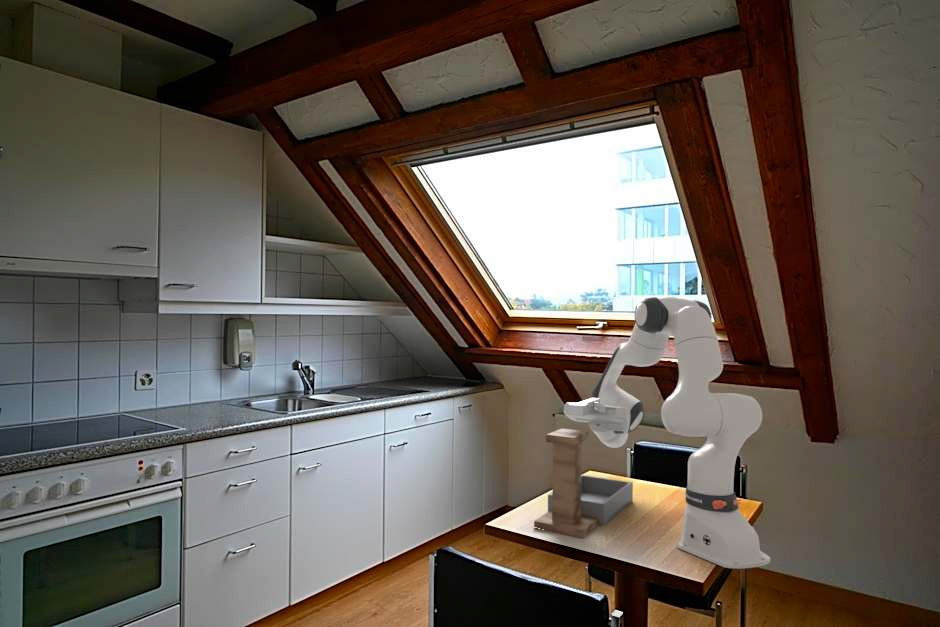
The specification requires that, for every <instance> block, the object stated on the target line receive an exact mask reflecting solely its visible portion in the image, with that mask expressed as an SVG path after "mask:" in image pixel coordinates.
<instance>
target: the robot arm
mask: <svg viewBox="0 0 940 627" xmlns="http://www.w3.org/2000/svg"><path fill="white" fill-rule="evenodd" d="M711 312H712V311H711V309H710V306H708V305H707V303H705V302H702V301H699V300H695V299H692V300H691V299H685V298H679V297H674V296H658V297H657V296H653V295H652V296H647V297H643V298H641V299H640V300H639V301H638V303H637V304H636V306H635V310H634V320H635V324H634V326H633V329H632V331H631V335H630V337H629V339H628V341H627V342H622V343H620V344H619V346H618V347H617V348H616V349H615V351H614V352H613V353H612V356H611V357H610V359H609V361H608V363H607V365H606V367H605V369H604V371H603V373H602V375H601V377H600V378H599V380H598V381H597V383H596V385H595V386H594V388H593V389H592V391H591V393H590V398H600V403H599V402H594V403H593V404H594V405H593V408H594V409H596V410H594V411H591V412H589V413H588V415H585V416H575V415H568V404H571V403H572V402H568V401H567V402H566V403H565V404H564V407H563V414H564V415H565V416H566V417H568V418H569V419H570V420H571V421H574V422H580V423H587V424H588V427H589V428H590V430H591V431H592V432H593V433H594V434H595V435H596V436H597V439H598V440H599V441H600V442H601V443H603V444H604V445H605V446H607V447H609V448H613V449H614V448H616V449H617V448H620V447H623V445H625V444H626V442H627V440H628V437H629V433H632V432H633V431H635V430H637V428H638V427H639V426H640V425H641V423H642V421H644V417H645V406H644V403H643V401H641V400H640V399H639V398H636V397H635V396H633V395H632V394H630V393H628V392H627V391H625V390H624V389H622V388H621V387H619V385H618V384H617V381H618V380H619V379H618V378H620V375H621V374H622V371H623V370H624V368H625V366H633V367H637V368H638V367H641V368H642V367H643V368H644V367H650V366H654V365H655V364H656V365H657V363H659V362H660V360H661V359H662V358H663V356H664V354H665V351H666V347H667V345H668V342H669V337H670V336H672V337H673V341H674V347H675V352H676V358H677V366H678V382H677V384H676V387H675V389H674V390H673V391H672V393H671V394H670V395H669V396H668V397H667V398H666V399H665V400H664V401H663V403H662V405H661V410H660V418H661V421H662V424H663V426H664V428H665V429H666V430H667V431H668V432H669V433H670V434H674V435H678V436H679V435H680V436H684V437H707V439H706V441H705V443H704V444H703V445H702V446H701V447H699V449H697V450H695V451H694V452H692V453H691V454H690V456H689V458H688V459H687V460H688V461H687V486H686V487H685V493H684V494H685V502H686V506H685V510H684V513H683V517H682V525H681V531H680V532H681V534H680V539H679V541H678V542H677V548H678V549H680V550H681V551H685V552H687V553H689V554H692V555H694V556H696V557H698V558H701V559H703V560H706V561H708V562H711V563H713V564H715V565H718V566H720V567H722V568H725V569H726V568H727V569H736V570H737V569H751V568H758V567H763V566H765V565H769V564H770V563H771V561H772V560H771V557H770V556H769V555H768V554H766V553H764V552H763V551H761V549H760V548H761V547H760V539H759V535H758V533H757V532H756V530H755V528H754V527H753V526H751V524H750V523H749V522H748V520H747V519H746V517H744V515H743V514H742V512H741V511H740V510H739V508H740V507H739V505H741V504H742V503H741V502H742V499H738V498H737V496H736V492H735V491H734V478H735V466H736V461H737V457H738V455H739V452H740V450H741V448H742V446H743V445H744V444H745V442H746V440H747V439H748V438H749V437H751V435H753V434H755V432H757V431H758V429H759V428H760V426H761V424H762V421H763V411H762V407H761V405H760V404H759V402H758V400H756V398H754V396H750V395H746V394H741V393H734V392H726V393H725V392H710V389H709V383H711V382H712V381H714V380H716V379H717V378H718V377H719V376H720V375H721V374H722V372H723V368H724V361H723V357H722V352H721V349H720V343H719V340H718V339H719V338H718V335H717V332H716V328H715V325H714V324H713V321H712V313H711Z"/></svg>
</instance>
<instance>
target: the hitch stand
mask: <svg viewBox="0 0 940 627" xmlns="http://www.w3.org/2000/svg"><path fill="white" fill-rule="evenodd" d="M545 436H546V437H545V442H546V443H552V492H553V493H552V492H551V493H552V510H551V511H549V512H548V511H547V512H546V513H544V514H543V515H541V516H539V517H538V518H537V519H535V520H534V522H533V528H534V527H537V528H540V529H544V530H547V531H546V532H549V531H551V533H556V534H559V533H560V534H561V535H564V534H565V536H569V537H573V536H575V537H574V538H578V537H580V539H584V538H585V537H586V536H587V535H588V534H590V533H591V532H592V531H594V529H596V528H597V527H598V526H599V525H598V518H594V517H589V516H584V515H581V475H582V462H583V461H582V459H583V458H582V457H583V456H582V454H583V453H582V450H583V449H582V448H583V447H582V446H583V442H584V441H586V440H589V430H579V429H571V428H560V429H556V430H553V431H552V432H549V433H547V434H545ZM595 527H596V528H595ZM540 529H539V530H540ZM544 530H543V531H544ZM589 532H590V533H589ZM583 537H584V538H583Z"/></svg>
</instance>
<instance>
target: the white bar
mask: <svg viewBox="0 0 940 627" xmlns="http://www.w3.org/2000/svg"><path fill="white" fill-rule="evenodd" d="M594 402H599V403H600V398H591V397H590V398H587V399H585V400H581V401H578V402H570V403H571V404H568V415H575V416H585V415H588V413H589V412H591V411H594V410H596V409H594V408H593V405H594V404H593V403H594Z"/></svg>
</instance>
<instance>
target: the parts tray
mask: <svg viewBox="0 0 940 627" xmlns="http://www.w3.org/2000/svg"><path fill="white" fill-rule="evenodd" d="M633 487H634V482H633V481H627V480H626V481H625V480H620V479H619V480H618V479H612V478H605V477H599V476H593V475H585V474H581V515H584V516H589V517H594V518H598V526H602V525H604V526H605V524H606V523H607V522H608V523H609V522H610V521H611V520H613V519H614V518H615V517H616V516H617V515H619V514H620V513H621V512H622V511H623V510H624V509H625V508H627V507H628V506H629V505H630V504H631V503H632V502H634V500H633V497H634V496H633V495H634V494H633V493H634V492H633V490H634V488H633ZM552 493H553V491H552V492H550V493H548V494H547V512H549V511H551V510H552ZM627 505H628V506H627ZM626 506H627V507H626ZM621 510H622V511H621ZM620 511H621V512H620ZM619 512H620V513H619ZM615 515H616V516H615ZM614 516H615V517H614ZM613 517H614V518H613ZM612 518H613V519H612ZM608 523H607V524H608ZM607 524H606V525H607Z"/></svg>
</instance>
